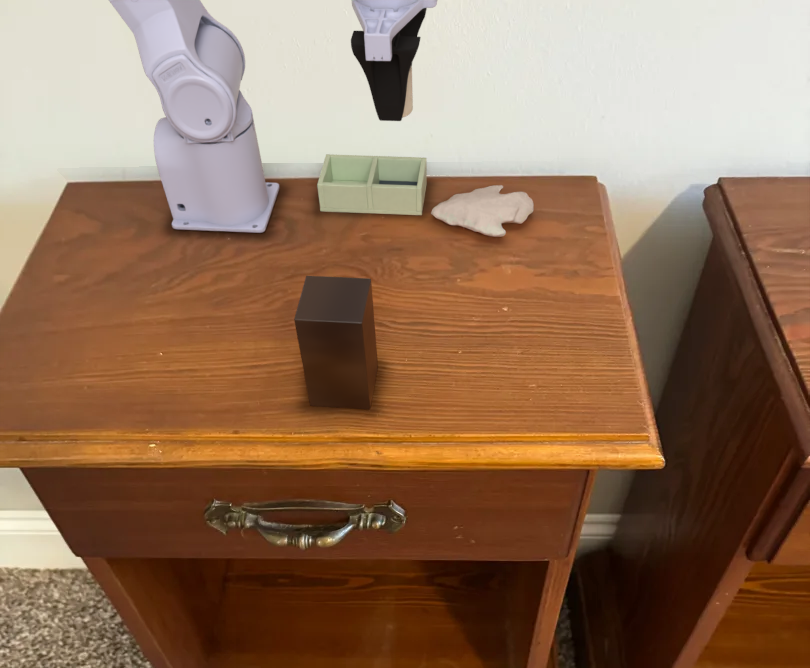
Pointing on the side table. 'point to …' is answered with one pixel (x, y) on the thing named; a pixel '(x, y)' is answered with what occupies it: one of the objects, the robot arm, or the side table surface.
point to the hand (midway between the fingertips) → (393, 107)
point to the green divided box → (373, 184)
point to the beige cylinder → (408, 96)
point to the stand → (337, 341)
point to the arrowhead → (485, 210)
